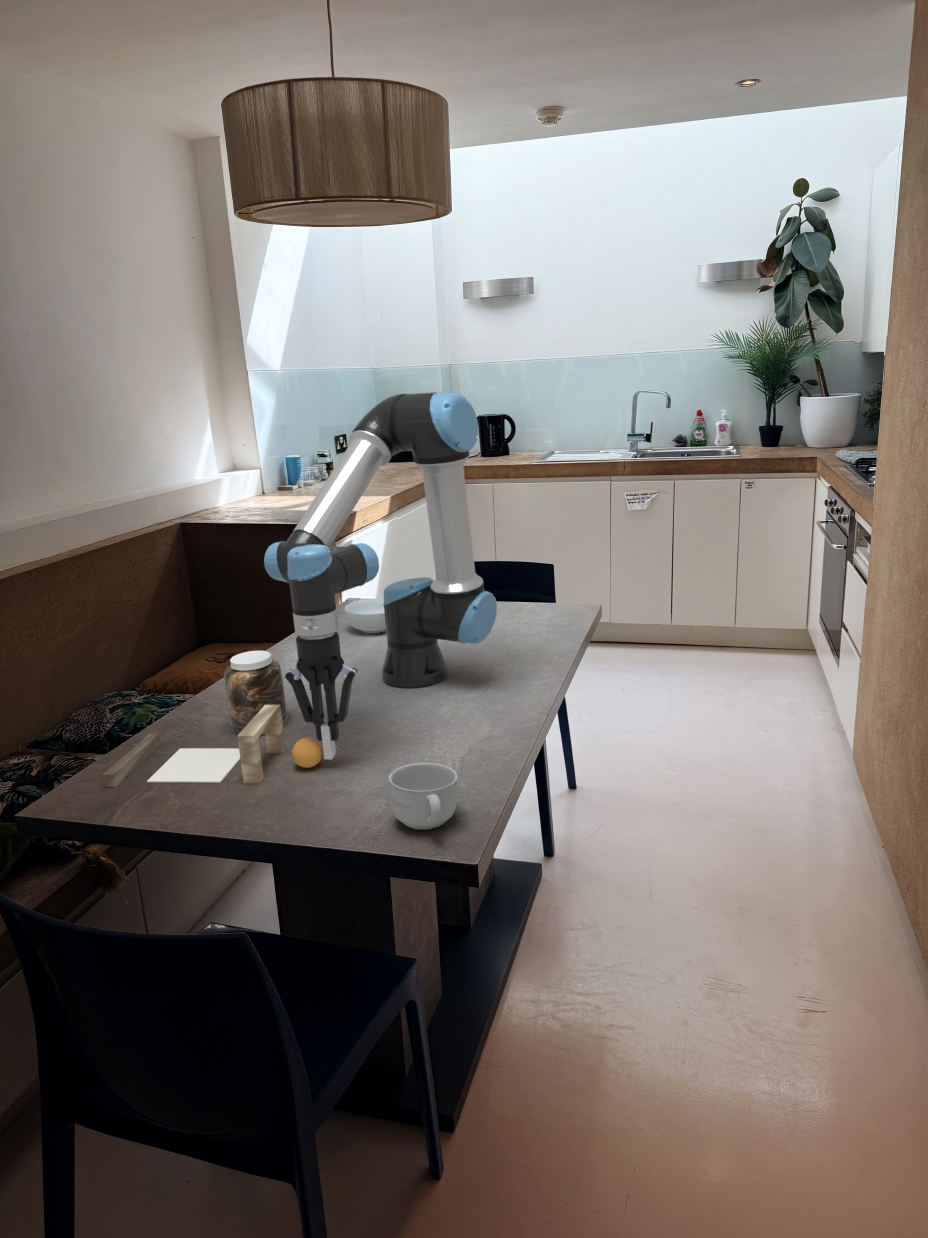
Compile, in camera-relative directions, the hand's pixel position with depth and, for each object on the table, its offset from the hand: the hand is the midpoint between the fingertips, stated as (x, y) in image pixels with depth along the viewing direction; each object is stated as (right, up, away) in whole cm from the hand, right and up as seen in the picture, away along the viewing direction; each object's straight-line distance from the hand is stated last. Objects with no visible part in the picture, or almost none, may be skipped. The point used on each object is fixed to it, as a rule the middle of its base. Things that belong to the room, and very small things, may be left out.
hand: (330, 756), depth 160 cm
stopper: (-38, -3, +6) cm, 39 cm away
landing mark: (-25, -2, +4) cm, 26 cm away
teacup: (+19, -8, -22) cm, 30 cm away
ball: (-4, +1, 0) cm, 4 cm away
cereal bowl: (0, +22, +84) cm, 87 cm away
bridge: (-12, -2, +2) cm, 13 cm away
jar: (-18, +3, +22) cm, 28 cm away
